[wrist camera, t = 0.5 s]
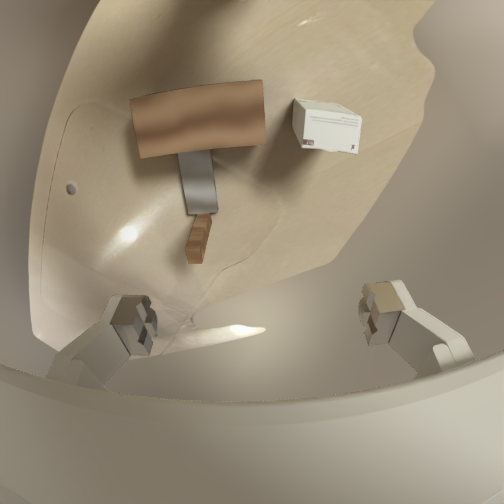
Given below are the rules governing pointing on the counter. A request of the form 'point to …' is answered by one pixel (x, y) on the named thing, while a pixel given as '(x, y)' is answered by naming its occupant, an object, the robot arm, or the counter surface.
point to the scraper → (198, 199)
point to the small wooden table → (200, 118)
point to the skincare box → (326, 126)
